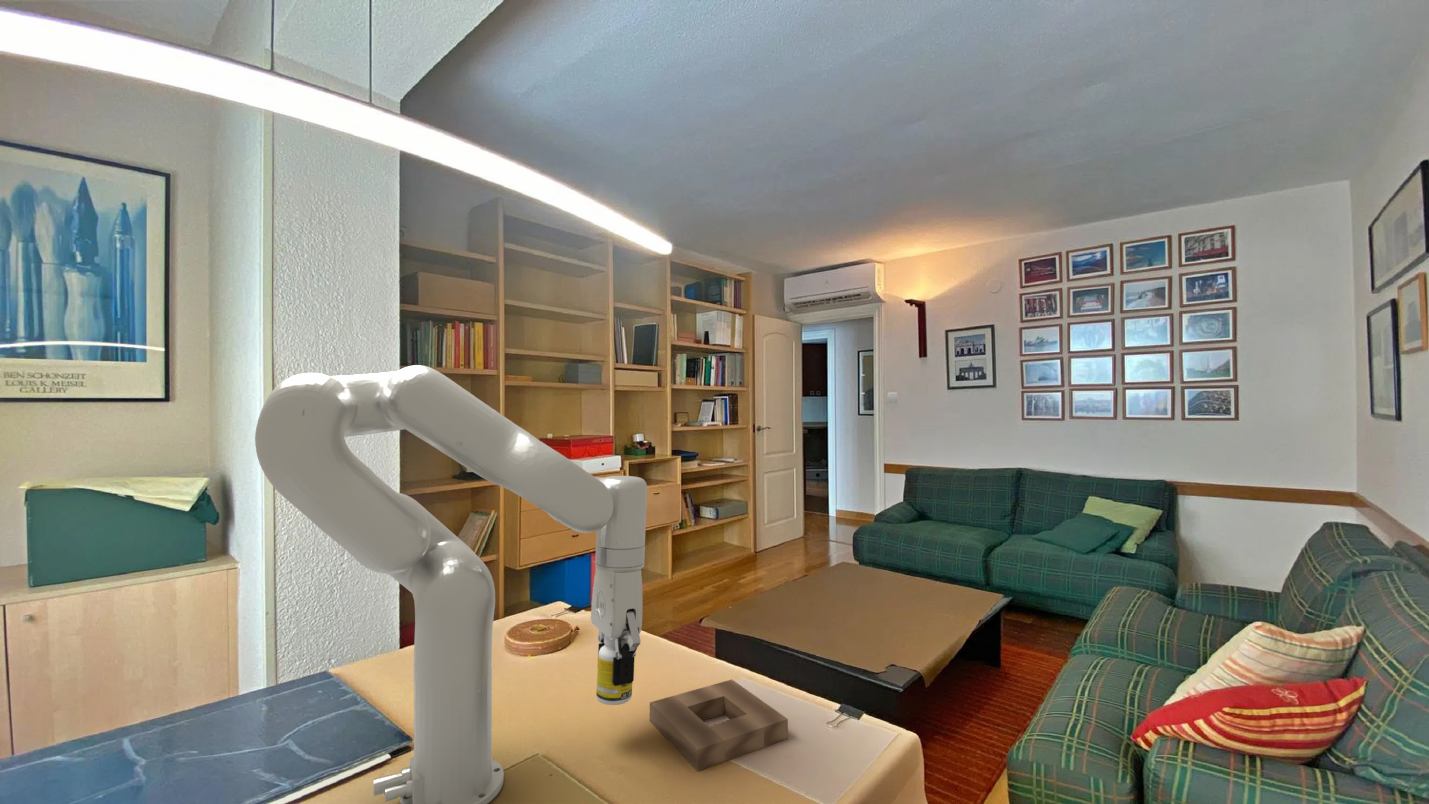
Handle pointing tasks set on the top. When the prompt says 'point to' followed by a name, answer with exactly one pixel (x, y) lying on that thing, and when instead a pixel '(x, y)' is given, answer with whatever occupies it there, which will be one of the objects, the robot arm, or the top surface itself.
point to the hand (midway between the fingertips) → (615, 674)
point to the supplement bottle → (610, 676)
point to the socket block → (724, 740)
